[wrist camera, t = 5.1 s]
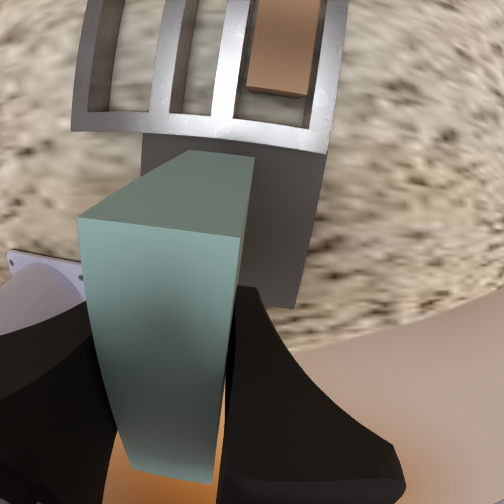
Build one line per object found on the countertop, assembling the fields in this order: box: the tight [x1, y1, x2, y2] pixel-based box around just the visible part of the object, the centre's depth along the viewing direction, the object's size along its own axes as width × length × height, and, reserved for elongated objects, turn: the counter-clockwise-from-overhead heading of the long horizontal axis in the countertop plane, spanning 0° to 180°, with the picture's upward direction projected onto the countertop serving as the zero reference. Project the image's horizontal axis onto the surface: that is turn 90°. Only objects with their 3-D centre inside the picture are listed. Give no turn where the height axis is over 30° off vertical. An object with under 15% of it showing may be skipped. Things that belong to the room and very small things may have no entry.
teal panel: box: [77, 150, 255, 484], centre depth 10 cm, size 8×2×8 cm, turn 172°
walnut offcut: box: [246, 0, 320, 99], centre depth 13 cm, size 5×2×4 cm, turn 172°
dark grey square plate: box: [141, 133, 328, 309], centre depth 18 cm, size 10×10×1 cm
